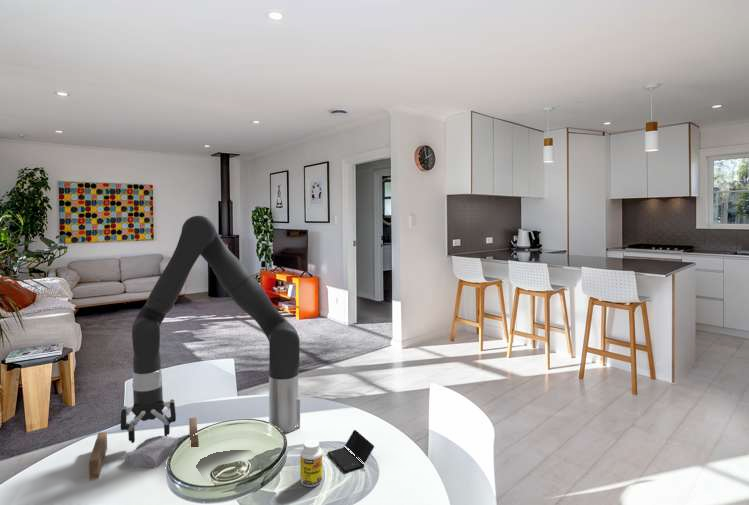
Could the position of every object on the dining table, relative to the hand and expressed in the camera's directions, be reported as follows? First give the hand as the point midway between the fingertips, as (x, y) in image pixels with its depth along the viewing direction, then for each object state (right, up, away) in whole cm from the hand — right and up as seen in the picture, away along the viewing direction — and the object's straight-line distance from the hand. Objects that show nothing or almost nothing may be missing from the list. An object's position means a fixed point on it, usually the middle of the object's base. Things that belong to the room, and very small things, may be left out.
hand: (149, 438), depth 130 cm
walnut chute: (+2, -3, -4) cm, 5 cm away
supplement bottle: (+49, -5, -15) cm, 52 cm away
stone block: (+3, -3, -5) cm, 6 cm away
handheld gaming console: (+59, -4, -5) cm, 59 cm away
